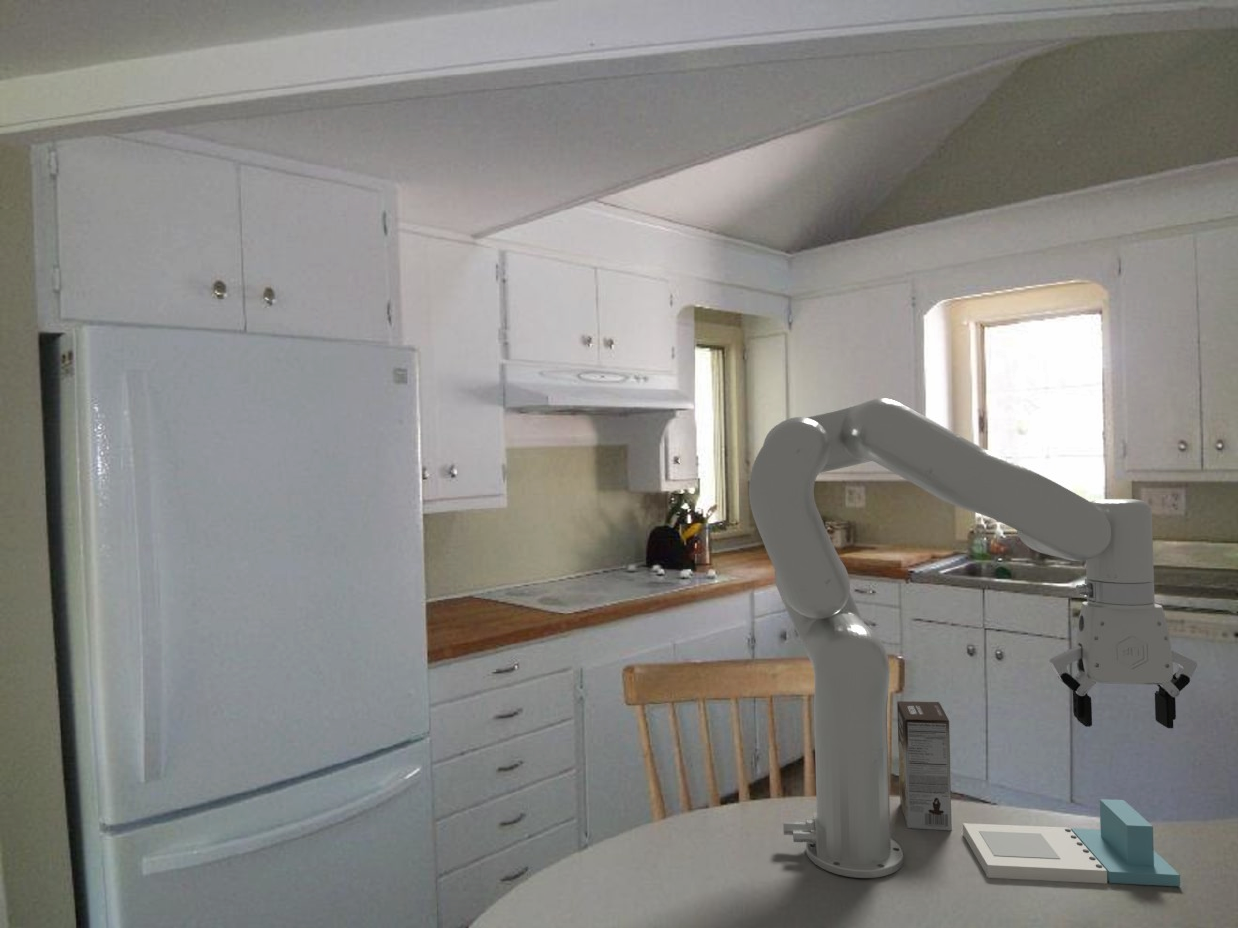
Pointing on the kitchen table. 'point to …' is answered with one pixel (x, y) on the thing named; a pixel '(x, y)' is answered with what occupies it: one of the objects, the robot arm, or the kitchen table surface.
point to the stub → (1126, 847)
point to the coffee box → (924, 765)
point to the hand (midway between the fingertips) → (1124, 724)
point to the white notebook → (1033, 853)
